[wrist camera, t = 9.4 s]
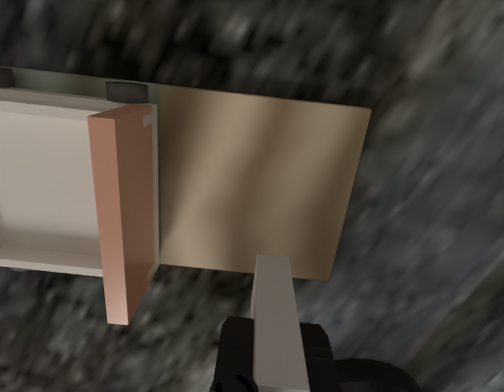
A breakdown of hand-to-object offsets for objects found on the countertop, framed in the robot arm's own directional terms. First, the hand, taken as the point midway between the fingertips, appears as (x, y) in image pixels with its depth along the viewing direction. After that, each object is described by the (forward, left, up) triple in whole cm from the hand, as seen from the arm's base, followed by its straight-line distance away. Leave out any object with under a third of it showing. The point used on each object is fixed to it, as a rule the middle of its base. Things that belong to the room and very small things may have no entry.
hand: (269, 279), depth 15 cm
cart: (+14, -1, -9) cm, 16 cm away
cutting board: (+7, -1, -10) cm, 12 cm away
